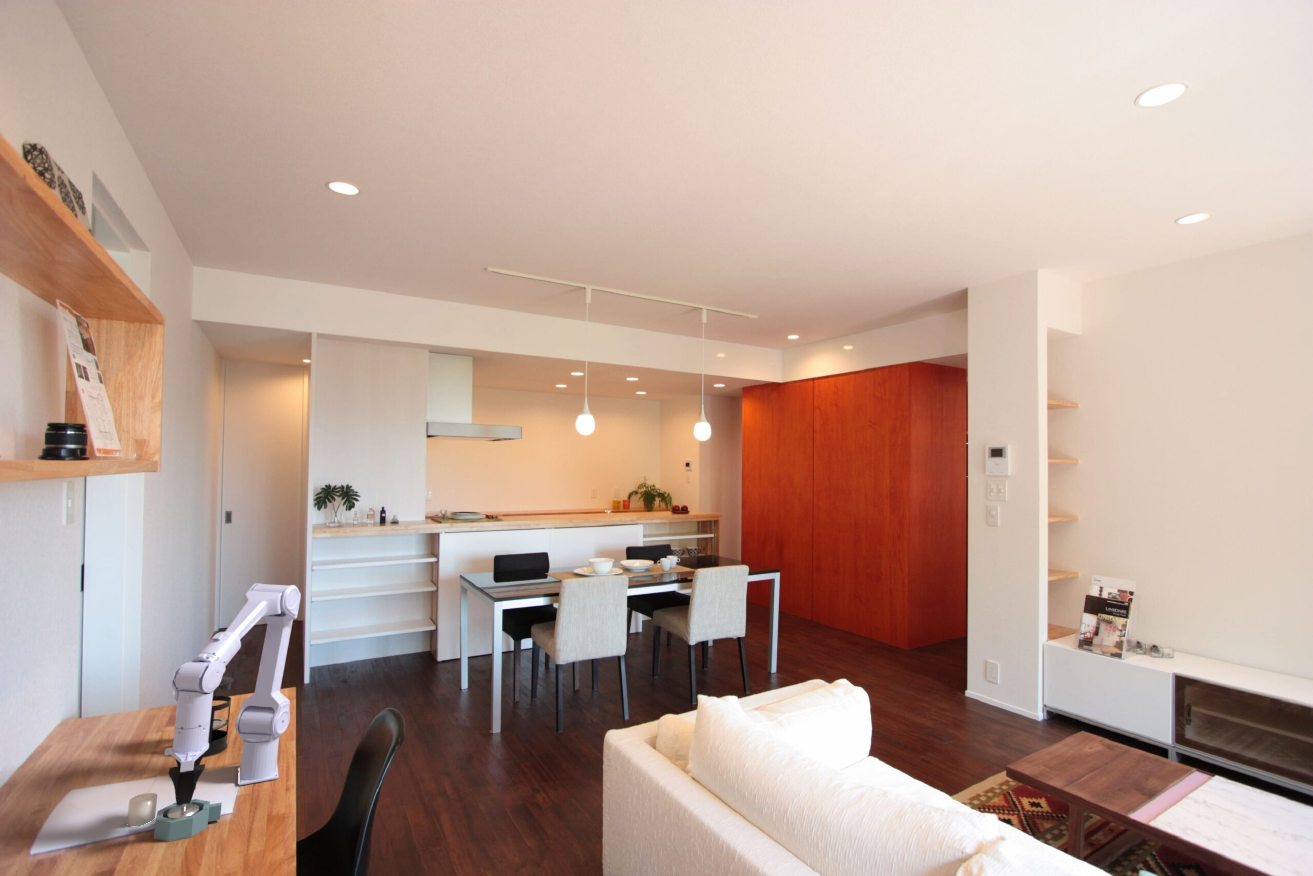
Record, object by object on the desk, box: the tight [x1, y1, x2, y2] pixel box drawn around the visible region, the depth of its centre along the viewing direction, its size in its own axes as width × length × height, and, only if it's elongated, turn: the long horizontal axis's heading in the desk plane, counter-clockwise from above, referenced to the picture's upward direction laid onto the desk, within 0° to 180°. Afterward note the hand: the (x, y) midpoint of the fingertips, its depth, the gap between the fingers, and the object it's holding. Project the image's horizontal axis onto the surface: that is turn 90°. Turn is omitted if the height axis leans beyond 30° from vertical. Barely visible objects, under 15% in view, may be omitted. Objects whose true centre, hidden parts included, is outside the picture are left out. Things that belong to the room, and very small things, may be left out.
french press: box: [203, 676, 234, 758], centre depth 161 cm, size 12×9×23 cm
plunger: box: [167, 785, 199, 819], centre depth 125 cm, size 5×5×6 cm
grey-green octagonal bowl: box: [153, 798, 223, 842], centre depth 125 cm, size 8×10×4 cm
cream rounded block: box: [126, 792, 158, 827], centre depth 127 cm, size 4×4×4 cm
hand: (185, 795), depth 125 cm, fingers open, 7 cm apart
